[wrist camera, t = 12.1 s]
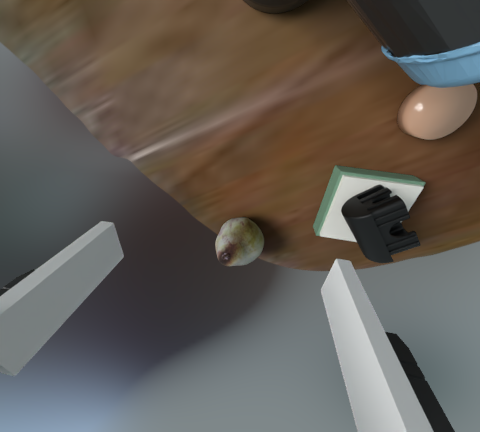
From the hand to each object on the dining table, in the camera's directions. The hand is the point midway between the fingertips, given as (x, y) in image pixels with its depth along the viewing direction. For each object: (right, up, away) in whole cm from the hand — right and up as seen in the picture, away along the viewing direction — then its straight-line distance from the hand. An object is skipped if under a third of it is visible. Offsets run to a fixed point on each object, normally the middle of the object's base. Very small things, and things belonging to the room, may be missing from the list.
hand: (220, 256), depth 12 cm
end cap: (+23, +3, +22) cm, 32 cm away
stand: (+24, +5, +25) cm, 35 cm away
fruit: (+2, 0, +32) cm, 32 cm away
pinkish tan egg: (+28, +18, +17) cm, 37 cm away
